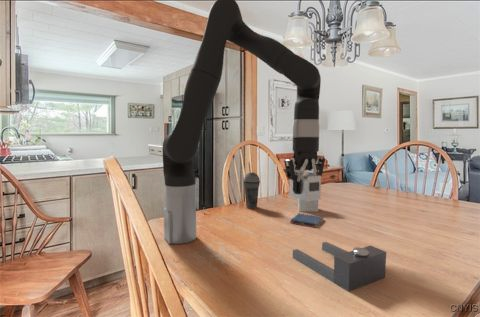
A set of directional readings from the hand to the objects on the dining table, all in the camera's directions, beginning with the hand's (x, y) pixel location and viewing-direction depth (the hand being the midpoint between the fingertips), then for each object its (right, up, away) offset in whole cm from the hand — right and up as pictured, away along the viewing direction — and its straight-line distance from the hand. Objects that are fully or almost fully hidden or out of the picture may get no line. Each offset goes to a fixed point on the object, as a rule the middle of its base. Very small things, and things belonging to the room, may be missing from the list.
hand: (304, 192), depth 82 cm
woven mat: (+6, -14, +20) cm, 26 cm away
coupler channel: (+4, -16, -14) cm, 22 cm away
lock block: (0, -1, 0) cm, 1 cm away
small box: (+10, -12, +36) cm, 39 cm away
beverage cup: (-14, -12, +40) cm, 44 cm away
